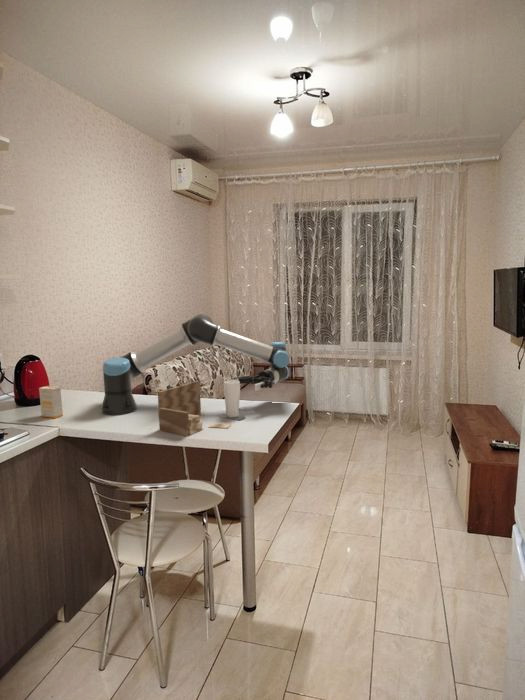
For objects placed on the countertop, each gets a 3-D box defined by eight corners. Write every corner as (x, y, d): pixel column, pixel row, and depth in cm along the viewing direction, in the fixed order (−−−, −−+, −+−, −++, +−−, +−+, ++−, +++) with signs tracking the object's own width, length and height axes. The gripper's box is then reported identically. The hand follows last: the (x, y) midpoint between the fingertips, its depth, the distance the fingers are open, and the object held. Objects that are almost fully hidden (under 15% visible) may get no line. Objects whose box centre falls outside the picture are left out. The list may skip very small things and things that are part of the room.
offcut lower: (190, 427, 186) (190, 419, 185) (202, 429, 182) (202, 422, 182) (178, 432, 180) (177, 424, 179) (190, 434, 176) (190, 426, 176)
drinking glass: (224, 414, 205) (223, 380, 203) (240, 413, 205) (239, 379, 203) (224, 418, 198) (223, 383, 196) (240, 418, 199) (240, 383, 197)
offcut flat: (231, 429, 187) (231, 424, 187) (228, 432, 183) (228, 427, 183) (211, 428, 189) (211, 423, 189) (208, 431, 185) (208, 426, 185)
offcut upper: (188, 420, 184) (188, 414, 184) (199, 421, 182) (199, 415, 182) (180, 424, 179) (179, 418, 179) (191, 426, 177) (191, 419, 177)
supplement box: (63, 415, 209) (61, 386, 208) (54, 418, 205) (52, 389, 203) (50, 413, 213) (47, 385, 211) (41, 416, 209) (38, 387, 207)
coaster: (218, 415, 207) (218, 413, 206) (243, 413, 208) (243, 412, 208) (219, 422, 196) (219, 420, 196) (246, 420, 197) (246, 419, 197)
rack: (198, 417, 203) (197, 380, 201) (226, 422, 196) (225, 384, 193) (157, 433, 183) (155, 392, 180) (186, 439, 175) (185, 397, 173)
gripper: (291, 388, 218) (266, 397, 201) (246, 382, 231) (219, 390, 214) (291, 372, 217) (266, 380, 199) (245, 367, 230) (219, 374, 213)
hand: (242, 385), depth 206 cm, fingers open, 13 cm apart
